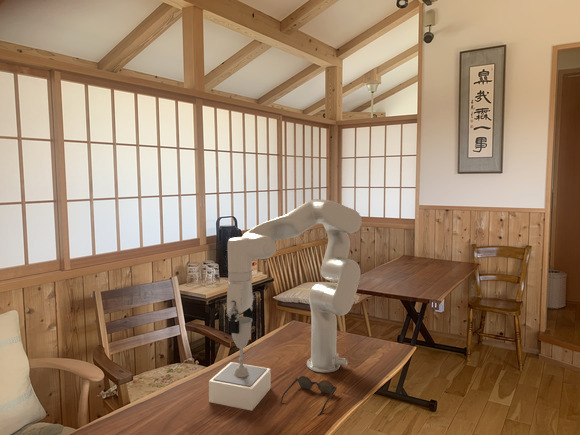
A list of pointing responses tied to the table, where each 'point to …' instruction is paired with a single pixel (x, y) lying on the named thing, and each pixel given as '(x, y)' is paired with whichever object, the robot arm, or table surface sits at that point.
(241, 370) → the chalice
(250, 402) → the display plinth
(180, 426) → the table surface
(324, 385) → the eyeglasses
